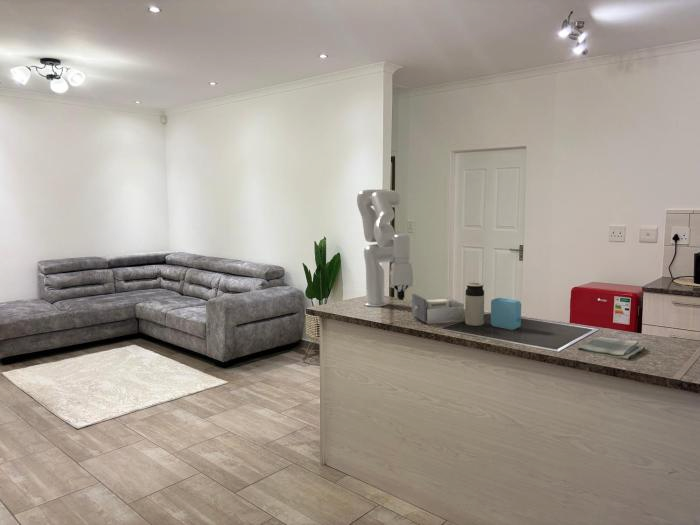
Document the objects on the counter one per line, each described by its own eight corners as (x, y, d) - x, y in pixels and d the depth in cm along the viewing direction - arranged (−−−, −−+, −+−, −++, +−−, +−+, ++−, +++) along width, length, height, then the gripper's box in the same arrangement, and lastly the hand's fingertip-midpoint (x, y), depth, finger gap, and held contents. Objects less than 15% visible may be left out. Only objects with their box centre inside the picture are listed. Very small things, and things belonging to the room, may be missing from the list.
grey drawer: (410, 314, 252) (409, 293, 250) (445, 312, 256) (445, 291, 255) (421, 322, 237) (421, 299, 236) (459, 319, 241) (459, 297, 240)
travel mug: (471, 326, 231) (471, 285, 229) (461, 322, 239) (462, 283, 236) (487, 325, 234) (487, 284, 231) (477, 321, 241) (477, 281, 239)
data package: (520, 328, 227) (521, 300, 225) (515, 330, 224) (516, 302, 222) (495, 323, 236) (496, 297, 234) (490, 325, 233) (490, 298, 231)
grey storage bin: (414, 316, 253) (414, 299, 252) (448, 313, 257) (448, 297, 256) (427, 324, 237) (427, 306, 236) (463, 321, 241) (463, 303, 240)
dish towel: (575, 351, 196) (576, 343, 195) (595, 341, 208) (596, 333, 207) (630, 362, 182) (630, 353, 182) (647, 351, 195) (648, 342, 194)
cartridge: (424, 312, 248) (424, 300, 247) (444, 311, 250) (444, 298, 249) (428, 315, 243) (428, 302, 242) (448, 313, 245) (449, 301, 244)
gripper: (388, 262, 241) (387, 302, 244) (419, 261, 244) (418, 300, 248) (383, 259, 248) (383, 298, 252) (413, 258, 252) (413, 296, 255)
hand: (400, 299), depth 250 cm, fingers closed
